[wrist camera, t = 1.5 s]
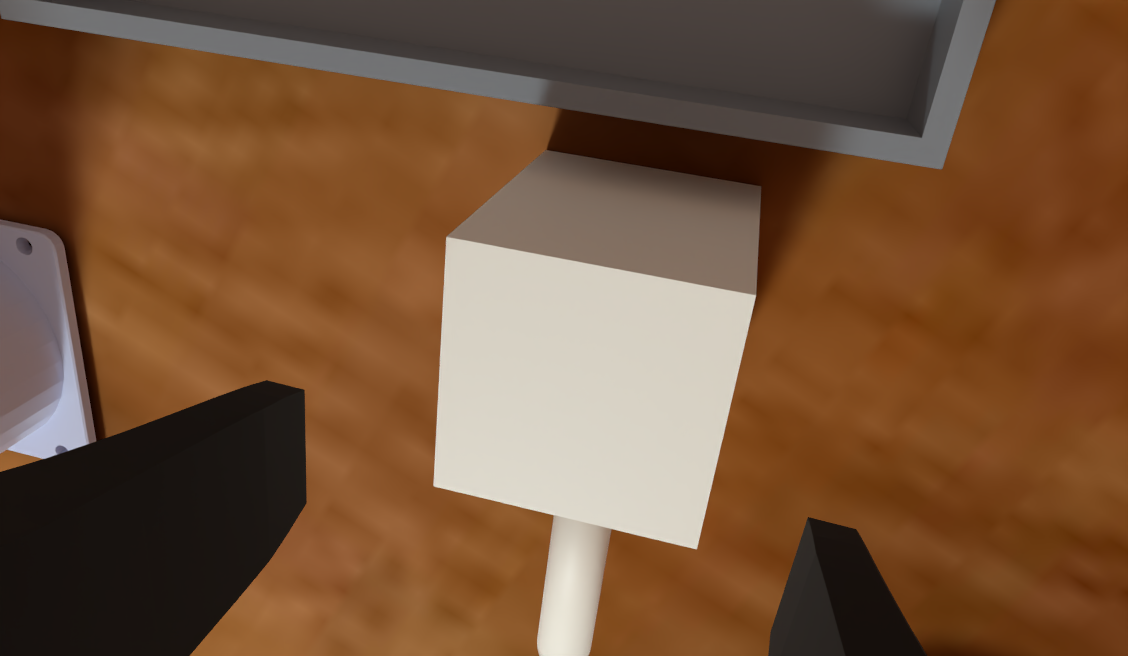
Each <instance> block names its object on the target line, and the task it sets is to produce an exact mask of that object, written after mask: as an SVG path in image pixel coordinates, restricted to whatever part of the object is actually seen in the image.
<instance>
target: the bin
mask: <svg viewBox="0 0 1128 656" xmlns="http://www.w3.org/2000/svg"><path fill="white" fill-rule="evenodd" d="M995 1H996V0H0V14H1V19H6V20H13V21H19V22H25V23H31V24H37V25H44V26H50V27H56V28H62V29H69V30H75V31H81V32H87V33H94V34H100V35H106V36H112V37H119V38H125V39H131V40H137V41H144V42H150V43H156V44H162V45H169V46H175V47H181V48H187V49H194V50H200V51H206V52H212V53H219V54H225V55H231V56H237V57H243V58H250V59H256V60H262V61H268V62H275V63H281V64H287V65H293V66H300V67H306V68H312V69H318V70H325V71H331V72H337V73H343V74H350V75H356V76H362V77H368V78H375V79H381V80H387V81H393V82H400V83H406V84H412V85H418V86H425V87H431V88H437V89H443V90H450V91H456V92H462V93H468V94H474V95H481V96H487V97H493V98H499V99H506V100H512V101H518V102H524V103H531V104H537V105H543V106H549V107H556V108H562V109H568V110H574V111H581V112H587V113H593V114H599V115H606V116H612V117H618V118H624V119H631V120H637V121H643V122H649V123H656V124H662V125H668V126H674V127H680V128H687V129H693V130H699V131H705V132H712V133H718V134H724V135H730V136H737V137H743V138H749V139H755V140H762V141H768V142H774V143H780V144H787V145H793V146H799V147H805V148H812V149H818V150H824V151H830V152H837V153H843V154H849V155H855V156H862V157H868V158H874V159H880V160H887V161H893V162H899V163H905V164H911V165H918V166H924V167H930V168H936V169H942V168H943V165H944V161H945V158H946V155H947V152H948V149H949V146H950V143H951V139H952V136H953V133H954V130H955V127H956V124H957V121H958V118H959V114H960V111H961V108H962V105H963V102H964V99H965V96H966V92H967V89H968V86H969V83H970V80H971V77H972V74H973V70H974V67H975V64H976V61H977V58H978V55H979V52H980V48H981V45H982V42H983V39H984V36H985V33H986V30H987V27H988V23H989V20H990V17H991V14H992V11H993V8H994V5H995Z"/></svg>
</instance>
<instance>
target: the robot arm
mask: <svg viewBox="0 0 1128 656" xmlns="http://www.w3.org/2000/svg"><path fill="white" fill-rule="evenodd" d="M27 240H28V241H29V242H30V243H31V246H32V247H31V246H30V245H29V243H28V241H27ZM5 450H11V451H15V452H19V453H23V454H27V455H31V456H35V457H38V458H42V460H39V461H36V462H33V463H29V464H26V465H23V466H19V467H16V468H12V469H9V470H5V471H2V472H0V656H190V654H191V653H192V652H193V651H194V650H195V649H196V647H197V646H198V645H199V644H200V643H201V642H202V640H203V639H204V638H205V637H206V636H207V634H208V633H209V632H210V631H211V630H212V629H213V627H214V626H215V625H216V624H217V623H218V622H219V620H220V619H221V618H222V617H223V616H224V615H225V613H226V612H227V611H228V610H229V609H230V608H231V606H232V605H233V604H234V603H235V602H236V601H237V599H238V598H239V597H240V596H241V595H242V593H243V592H244V591H245V590H246V589H247V587H248V586H249V585H250V584H251V583H252V581H253V580H254V579H255V578H256V577H257V575H258V574H259V573H260V572H261V571H262V569H263V568H264V567H265V566H266V564H267V563H268V562H269V561H270V559H271V558H272V556H273V555H274V553H275V552H276V550H277V549H278V547H279V546H280V544H281V543H282V541H283V540H284V538H285V537H286V535H287V534H288V532H289V531H290V529H291V527H292V526H293V524H294V522H295V521H296V519H297V518H298V516H299V514H300V513H301V511H302V509H303V508H304V506H305V505H306V448H305V393H304V390H303V389H299V388H295V387H291V386H287V385H283V384H279V383H275V382H271V381H267V380H266V381H263V382H260V383H256V384H253V385H249V386H246V387H243V388H240V389H238V390H235V391H232V392H229V393H226V394H224V395H221V396H218V397H216V398H213V399H210V400H208V401H205V402H202V403H200V404H197V405H194V406H192V407H189V408H186V409H184V410H181V411H179V412H176V413H173V414H171V415H168V416H165V417H163V418H160V419H157V420H155V421H152V422H149V423H147V424H144V425H141V426H139V427H136V428H133V429H131V430H128V431H125V432H122V433H120V434H117V435H114V436H111V437H108V438H105V439H102V440H99V441H96V436H95V430H94V424H93V418H92V412H91V405H90V399H89V393H88V387H87V381H86V375H85V369H84V363H83V357H82V351H81V345H80V338H79V332H78V326H77V320H76V314H75V308H74V302H73V296H72V290H71V284H70V278H69V271H68V265H67V259H66V253H65V248H64V245H63V242H62V240H61V239H60V238H59V236H58V235H56V234H55V233H54V232H53V231H50V230H48V229H45V228H40V227H35V226H30V225H25V224H20V223H15V222H10V221H5V220H1V219H0V453H2V452H4V451H5ZM768 656H927V654H926V653H925V651H924V650H923V648H922V646H921V645H920V643H919V641H918V640H917V638H916V636H915V635H914V633H913V631H912V630H911V628H910V626H909V624H908V623H907V621H906V619H905V617H904V616H903V614H902V612H901V610H900V609H899V607H898V605H897V603H896V601H895V600H894V598H893V596H892V594H891V592H890V591H889V589H888V587H887V585H886V583H885V581H884V579H883V578H882V576H881V574H880V572H879V570H878V568H877V566H876V564H875V563H874V561H873V559H872V557H871V555H870V553H869V551H868V549H867V547H866V545H865V544H864V542H863V540H862V538H861V536H860V535H859V533H858V532H857V530H856V529H853V528H849V527H845V526H841V525H837V524H833V523H829V522H825V521H821V520H817V519H813V518H809V517H808V519H807V522H806V525H805V528H804V531H803V534H802V538H801V541H800V544H799V547H798V550H797V553H796V556H795V559H794V562H793V565H792V568H791V571H790V574H789V577H788V580H787V584H786V587H785V590H784V593H783V596H782V599H781V602H780V605H779V608H778V611H777V614H776V617H775V620H774V623H773V627H772V630H771V635H770V645H769V655H768Z"/></svg>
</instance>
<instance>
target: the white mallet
mask: <svg viewBox="0 0 1128 656" xmlns="http://www.w3.org/2000/svg"><path fill="white" fill-rule="evenodd" d="M760 204H761V186H757V185H751V184H745V183H739V182H733V181H727V180H721V179H715V178H709V177H703V176H697V175H691V174H685V173H680V172H674V171H668V170H662V169H656V168H650V167H644V166H638V165H632V164H626V163H620V162H614V161H608V160H603V159H597V158H591V157H585V156H579V155H573V154H567V153H561V152H555V151H549V150H545V151H544V152H543V153H542V154H541V155H539V156H538V157H537V158H536V159H535V160H534V161H533V162H531V163H530V164H529V165H528V166H527V167H526V168H525V169H523V170H522V171H521V172H520V173H519V174H518V175H517V176H515V177H514V178H513V179H512V180H511V181H510V182H509V183H507V184H506V185H505V186H504V187H503V188H502V189H501V190H499V191H498V192H497V193H496V194H495V195H494V196H493V197H491V198H490V199H489V200H488V201H487V202H486V203H485V204H483V205H482V206H481V207H480V208H479V209H478V210H477V211H475V212H474V213H473V214H472V215H471V216H470V217H469V218H467V219H466V220H465V221H464V222H463V223H462V224H461V225H459V226H458V227H457V228H456V229H455V230H454V231H453V232H451V233H450V234H449V235H448V236H447V237H446V256H445V276H444V295H443V314H442V333H441V353H440V372H439V391H438V411H437V430H436V449H435V468H434V486H435V487H439V488H443V489H447V490H452V491H456V492H460V493H464V494H468V495H472V496H477V497H481V498H485V499H489V500H493V501H497V502H502V503H506V504H510V505H514V506H518V507H522V508H527V509H531V510H535V511H539V512H543V513H547V514H552V515H554V518H553V526H552V533H551V541H550V548H549V556H548V563H547V571H546V578H545V586H544V593H543V601H542V608H541V616H540V623H539V631H538V638H537V649H538V652H539V656H589V653H590V649H591V644H592V638H593V632H594V626H595V620H596V615H597V609H598V603H599V597H600V592H601V586H602V580H603V574H604V568H605V563H606V557H607V551H608V545H609V540H610V534H611V529H614V530H618V531H622V532H627V533H631V534H635V535H639V536H643V537H647V538H652V539H656V540H660V541H664V542H668V543H672V544H677V545H681V546H685V547H689V548H693V549H697V546H698V542H699V537H700V533H701V529H702V525H703V520H704V516H705V512H706V507H707V503H708V499H709V495H710V490H711V486H712V482H713V478H714V473H715V469H716V465H717V460H718V456H719V452H720V448H721V443H722V439H723V435H724V431H725V426H726V422H727V418H728V413H729V409H730V405H731V401H732V396H733V392H734V388H735V383H736V379H737V375H738V371H739V366H740V362H741V358H742V354H743V349H744V345H745V341H746V336H747V332H748V328H749V324H750V319H751V315H752V311H753V307H754V302H755V298H756V287H757V266H758V246H759V225H760Z"/></svg>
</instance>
